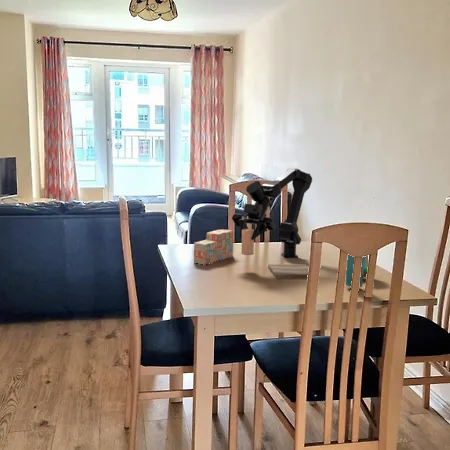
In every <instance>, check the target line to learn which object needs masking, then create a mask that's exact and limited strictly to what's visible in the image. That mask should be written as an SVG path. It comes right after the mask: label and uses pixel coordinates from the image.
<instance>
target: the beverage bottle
mask: <svg viewBox="0 0 450 450" xmlns="http://www.w3.org/2000/svg"><path fill="white" fill-rule="evenodd" d="M364 259H365V258H364V257H363V258H362V267H361V277H360V287H359V288H362V287H363V285H364V281H363V279H364V278H363V275H364V274H363V272H364V262H365V261H364ZM353 264H354V257H352V256H350V255H348V260H347V259H346V267H347V270H346V269H345V275H346V277H345V278H346V279H345V280H346V281H345V286H347V287H349V288H351V287H350V286H351V281H352V273H353Z"/></svg>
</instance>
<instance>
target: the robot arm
mask: <svg viewBox="0 0 450 450" xmlns="http://www.w3.org/2000/svg"><path fill="white" fill-rule="evenodd" d="M291 182H292V187H293V193H292V197H291V200H290V203H289V208H288V211H287V215H286V218H285V221H282V222H280V224H279V228H278V230H277V231H278V233H277V235H278V240H279V243H283V252H281V255H282V257H283V258H298V257H299V255H298V254H297V245H300V244H301V243H302V238H301V236H300V235H299V227H298V224H297V223H298V220H299V215H300V211H301V207H302V203H303V199H304V196H305V193H307V191H308V190H309V189H310V187H311V185H312V183H313V176H312V175H311V174H310V173H308V172H304V171H302V170H301V169H299V168H297V167H295V168H294V167H293V168H292V167H291V168H287V170H286V171H285V172H284V173H282V174H280V175H279V176H278V177H277V178H276V179H274V180H272V181H266V182H265V183H262V184H261V182H260V181H259V180H254V181H253V182H252V183H249V185H247V186H246V188H245V189H246V193H247V195H249V197H250V199H251V200H252V201H253V202H255V203H253V204H252V203H251V204H250V203H244V207H243V211H242V212H245V213H246V216H247V217H246V216H244V215H243V214H242V213H233V215H232V216H231V219H232V222H233V223H234V224H235V226H237V227H239V228H240V229H239V231H240V232H239V238H240V239H242V229H249V227H248V224H250V225H256V226H255V229H254V233H253V235H252V237H251V239H252V240H254V241H255V239H256V238H258V237H259V236H260V235H262V234H263V233H265V232H268V231H272V232H275V231H276V229H277V224H276V222H275V219H274V218H273V217H267V211H268V209H269V207H273V201H272V200H271V199H277V198H278V197H279V196H280V195H281V193H282V190H283V188H285V187H286V186H287V185H288V184H290V183H291ZM270 198H271V199H270Z"/></svg>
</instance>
